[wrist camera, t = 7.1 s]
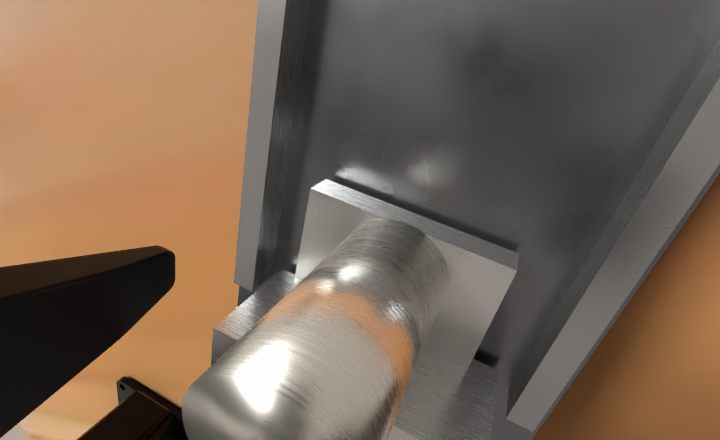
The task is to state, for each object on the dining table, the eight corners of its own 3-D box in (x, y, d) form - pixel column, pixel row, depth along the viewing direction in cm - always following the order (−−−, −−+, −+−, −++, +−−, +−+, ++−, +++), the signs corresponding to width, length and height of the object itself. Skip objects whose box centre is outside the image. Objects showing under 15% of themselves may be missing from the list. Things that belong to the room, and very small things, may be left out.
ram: (466, 429, 14) (406, 733, 8) (273, 329, 16) (104, 504, 10) (558, 264, 10) (585, 568, 4) (299, 165, 12) (66, 272, 6)
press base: (449, 531, 19) (419, 690, 14) (243, 409, 22) (163, 505, 17) (849, -74, 8) (1342, -277, 3) (314, -149, 11) (139, -308, 6)
